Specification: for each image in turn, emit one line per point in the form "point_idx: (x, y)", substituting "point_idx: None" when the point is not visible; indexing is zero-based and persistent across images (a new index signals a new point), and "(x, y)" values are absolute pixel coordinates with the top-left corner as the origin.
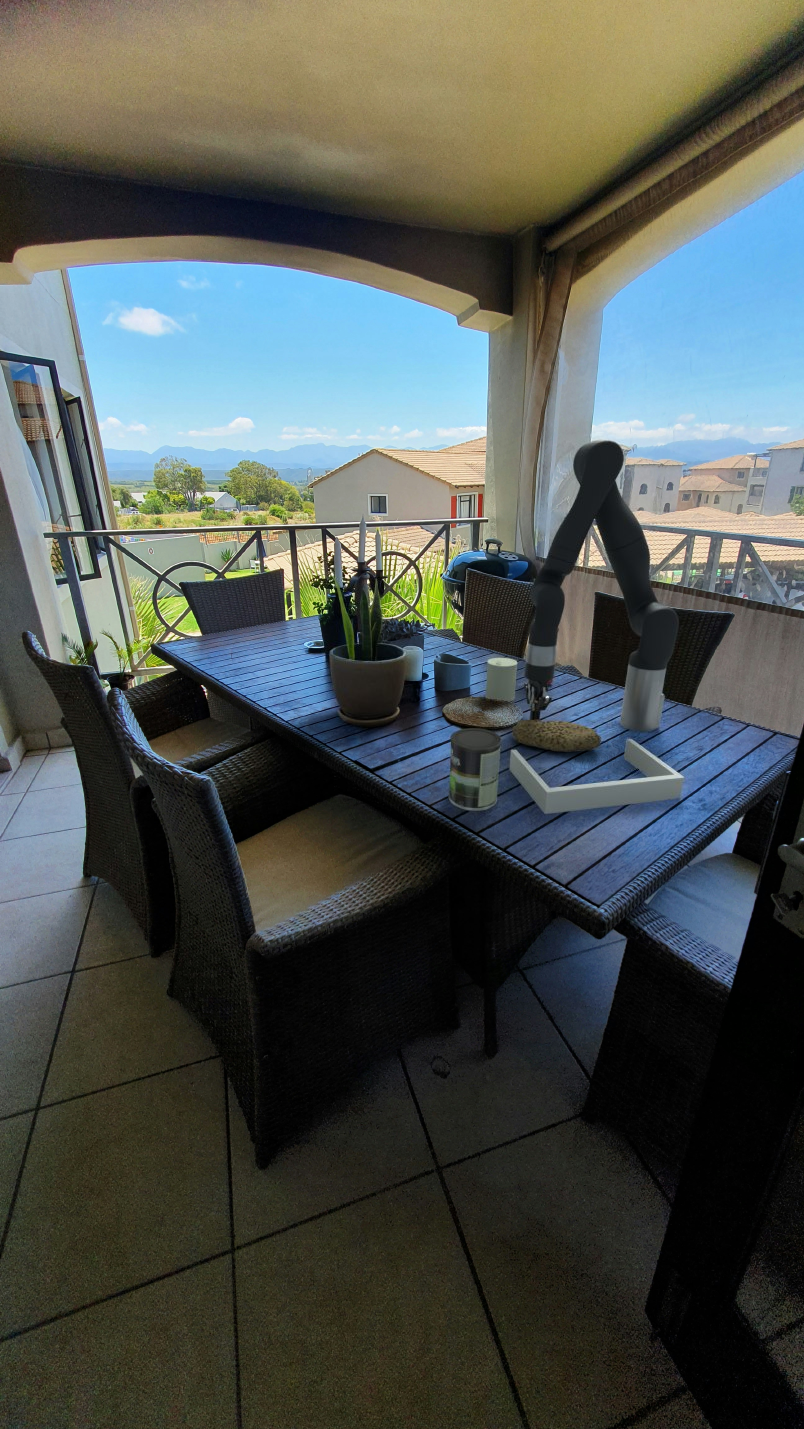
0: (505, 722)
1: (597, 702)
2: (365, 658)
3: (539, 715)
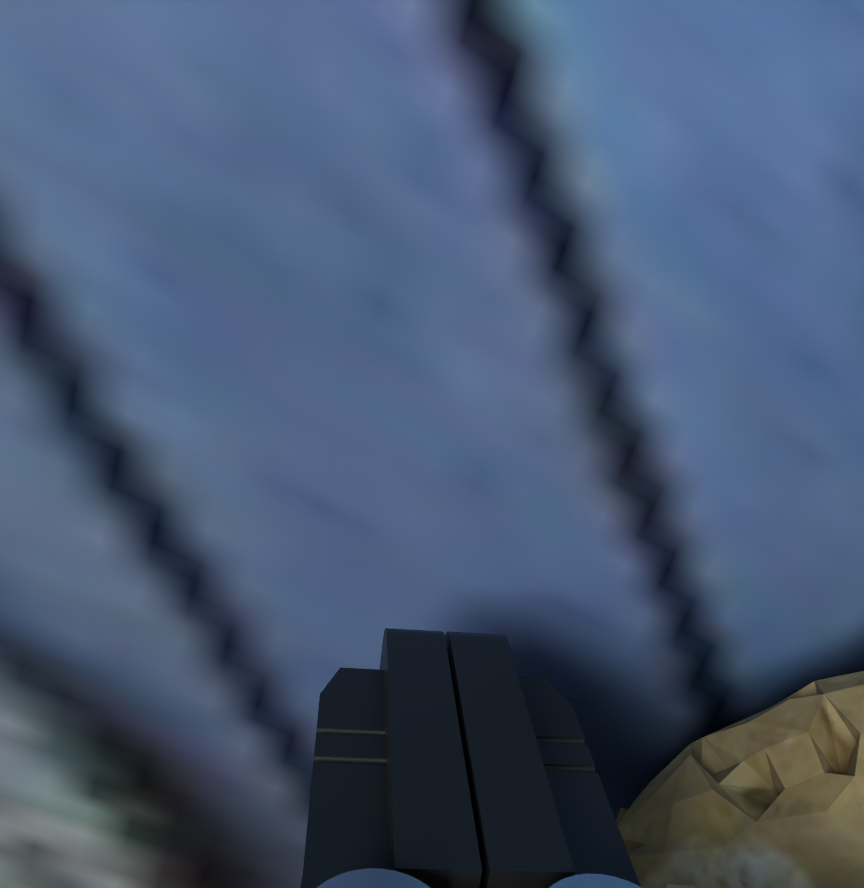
0: (26, 882)
1: None
2: None
3: (611, 813)
